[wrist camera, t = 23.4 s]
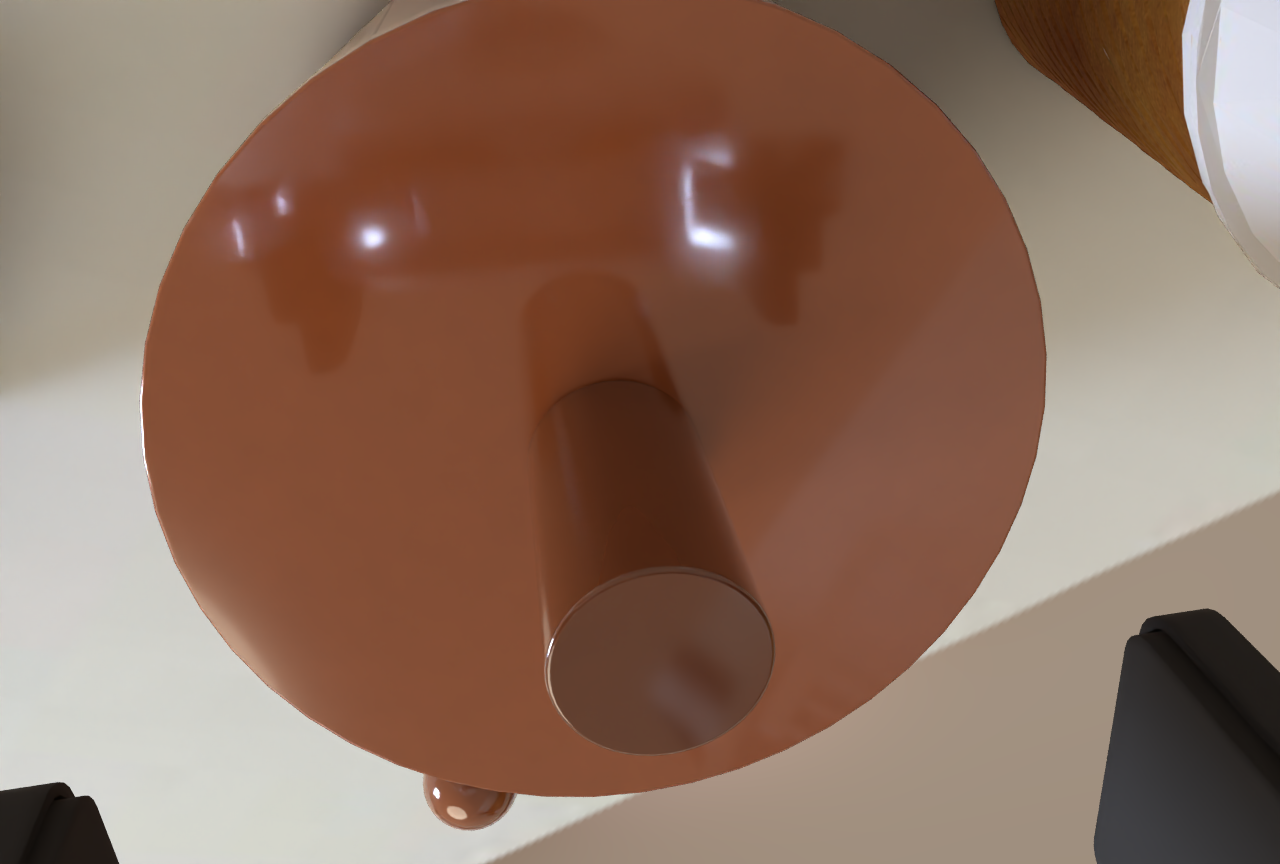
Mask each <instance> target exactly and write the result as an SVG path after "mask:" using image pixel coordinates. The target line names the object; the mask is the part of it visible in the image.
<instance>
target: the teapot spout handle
mask: <svg viewBox="0 0 1280 864" xmlns="http://www.w3.org/2000/svg"><path fill="white" fill-rule="evenodd" d="M423 789H424V795H425V798H426V801H427V804H428V806H429V807H430V809H431V811H432V812H433V813H434V814H435V816H436V817H437V818H438V819H439V820H441V821H442V822H443V823H445V824H446V825H448V826H451V827H453V828H455V829H460V830H478V829H483V828H486V827H488V826H490V825H492V824H494V823H495V822H497V821H498V820H500V819H501V818H502V817H503V816H504V815H505V814H506V813H507V812H508V811H509V809H510V808H511V806H512V805H513V803H514V800H515V798H516V796H517V794H516V793H507V792H498V791H491V790H487V789H482V788H477V787H473V786H468V785H463V784H458V783H454V782H449V781H445V780H442V779H439V778H436V777H433V776H429V775H426V774H424V775H423Z"/></svg>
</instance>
